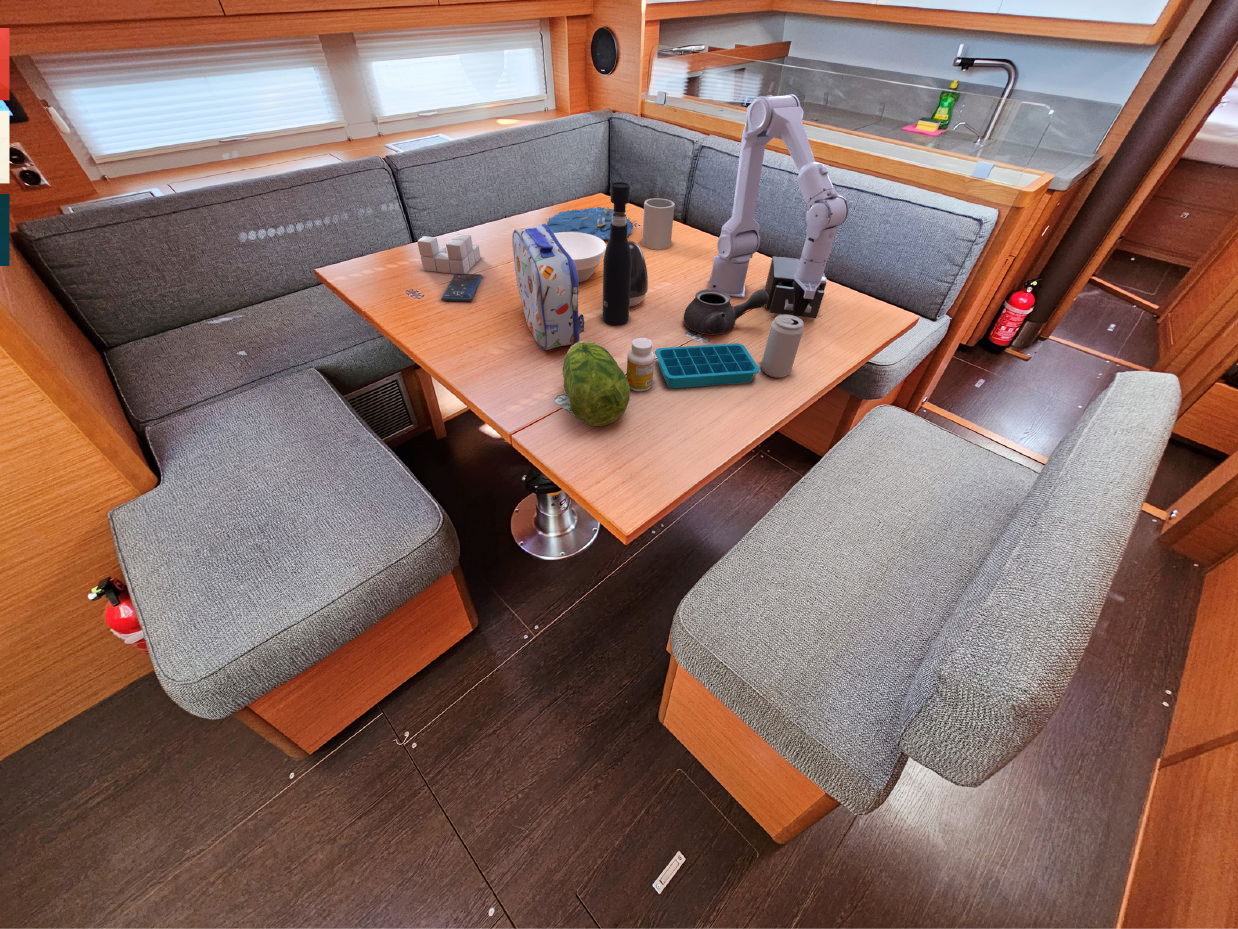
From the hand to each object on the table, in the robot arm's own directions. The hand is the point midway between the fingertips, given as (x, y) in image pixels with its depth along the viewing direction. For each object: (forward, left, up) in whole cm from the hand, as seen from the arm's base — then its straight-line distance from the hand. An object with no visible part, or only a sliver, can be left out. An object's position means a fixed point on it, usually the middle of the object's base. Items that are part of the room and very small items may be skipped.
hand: (797, 314), depth 122 cm
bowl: (-60, +16, -4) cm, 62 cm away
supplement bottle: (-33, -32, -4) cm, 46 cm away
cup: (-40, +46, -4) cm, 61 cm away
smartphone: (-85, 0, -4) cm, 85 cm away
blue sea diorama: (-63, +54, -4) cm, 83 cm away
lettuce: (-41, -40, -4) cm, 58 cm away
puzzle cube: (-94, +14, -4) cm, 95 cm away
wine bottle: (-43, -6, -4) cm, 44 cm away
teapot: (-17, -4, -4) cm, 18 cm away
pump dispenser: (-42, +4, -4) cm, 42 cm away
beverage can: (-5, -20, -4) cm, 21 cm away
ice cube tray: (-20, -24, -4) cm, 32 cm away
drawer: (0, +9, -3) cm, 10 cm away
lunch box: (-57, -15, -4) cm, 59 cm away
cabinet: (0, +16, -4) cm, 16 cm away
